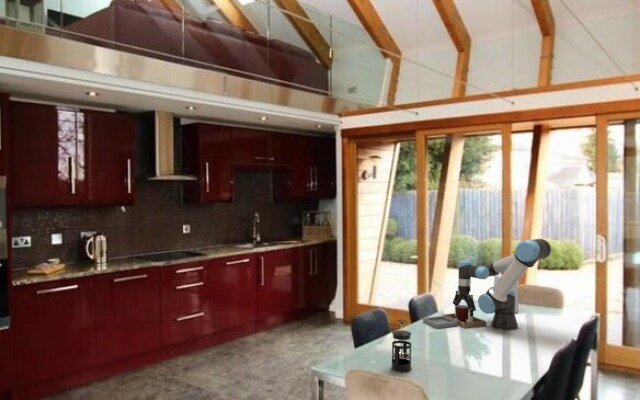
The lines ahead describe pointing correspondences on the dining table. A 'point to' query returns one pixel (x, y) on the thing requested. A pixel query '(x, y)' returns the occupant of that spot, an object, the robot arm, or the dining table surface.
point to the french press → (401, 357)
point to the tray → (440, 322)
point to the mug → (462, 313)
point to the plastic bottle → (511, 289)
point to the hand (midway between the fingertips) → (463, 318)
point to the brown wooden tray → (475, 323)
